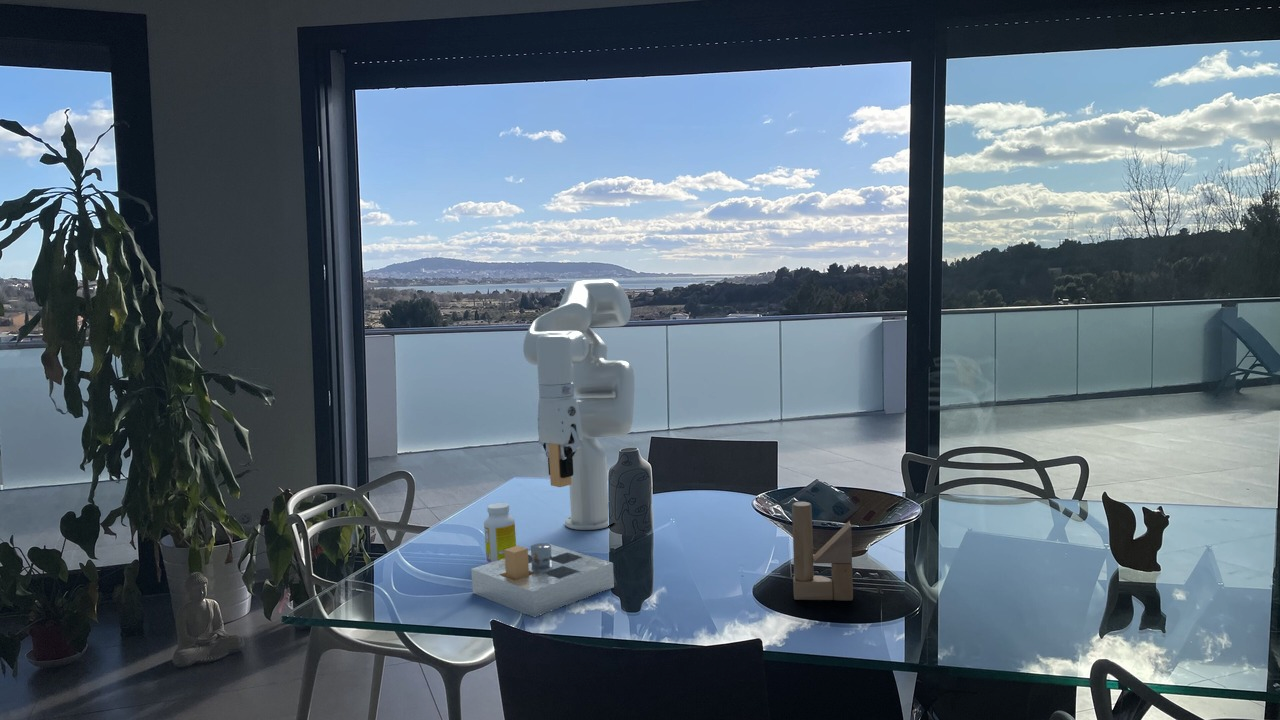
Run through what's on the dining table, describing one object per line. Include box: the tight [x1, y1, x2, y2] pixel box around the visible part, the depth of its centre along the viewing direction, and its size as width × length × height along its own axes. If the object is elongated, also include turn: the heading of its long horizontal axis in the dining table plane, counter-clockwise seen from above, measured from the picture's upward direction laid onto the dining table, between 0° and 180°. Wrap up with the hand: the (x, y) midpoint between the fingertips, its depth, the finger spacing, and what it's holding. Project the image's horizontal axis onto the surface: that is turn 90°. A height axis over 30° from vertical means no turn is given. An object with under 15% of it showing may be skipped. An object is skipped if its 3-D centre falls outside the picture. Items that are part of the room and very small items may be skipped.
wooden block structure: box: [791, 501, 854, 602], centre depth 167 cm, size 4×11×18 cm, turn 82°
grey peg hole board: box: [470, 542, 615, 618], centre depth 178 cm, size 20×20×9 cm
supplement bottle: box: [483, 502, 517, 564], centre depth 196 cm, size 7×7×13 cm
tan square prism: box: [548, 443, 572, 488], centre depth 194 cm, size 3×3×10 cm
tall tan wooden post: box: [504, 545, 529, 581], centre depth 174 cm, size 3×3×10 cm
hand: (561, 474), depth 194 cm, fingers closed on tan square prism, 3 cm apart
